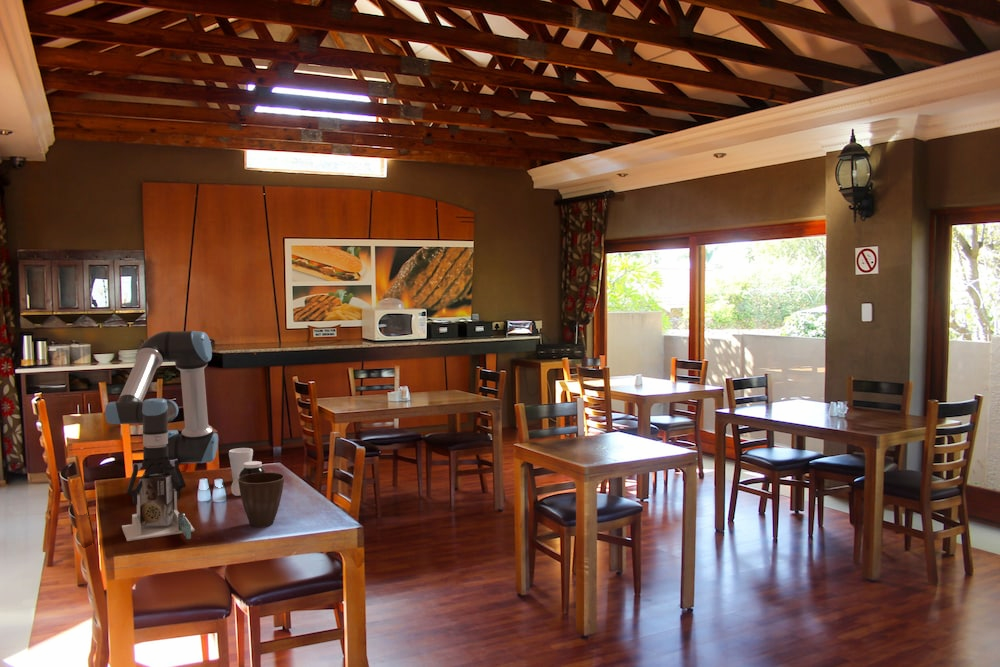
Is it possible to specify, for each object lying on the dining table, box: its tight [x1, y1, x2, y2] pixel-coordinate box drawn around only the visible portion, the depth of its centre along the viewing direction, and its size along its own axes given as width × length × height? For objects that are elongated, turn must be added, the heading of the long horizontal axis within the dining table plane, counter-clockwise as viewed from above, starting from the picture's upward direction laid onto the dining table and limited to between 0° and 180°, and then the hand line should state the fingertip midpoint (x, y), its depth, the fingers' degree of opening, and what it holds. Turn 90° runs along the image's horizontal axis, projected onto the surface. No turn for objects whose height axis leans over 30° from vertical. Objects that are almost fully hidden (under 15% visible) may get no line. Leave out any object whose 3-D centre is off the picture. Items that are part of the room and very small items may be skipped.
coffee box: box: [138, 473, 174, 526], centre depth 255 cm, size 9×6×16 cm
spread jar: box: [230, 460, 267, 497], centre depth 301 cm, size 12×11×12 cm
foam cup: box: [228, 447, 254, 482], centre depth 320 cm, size 10×9×13 cm
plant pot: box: [238, 472, 285, 528], centre depth 260 cm, size 15×15×16 cm
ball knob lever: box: [178, 512, 192, 540], centre depth 246 cm, size 15×2×5 cm, turn 31°
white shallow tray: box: [121, 509, 195, 542], centre depth 254 cm, size 17×20×4 cm
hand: (157, 511), depth 255 cm, fingers closed on coffee box, 10 cm apart
